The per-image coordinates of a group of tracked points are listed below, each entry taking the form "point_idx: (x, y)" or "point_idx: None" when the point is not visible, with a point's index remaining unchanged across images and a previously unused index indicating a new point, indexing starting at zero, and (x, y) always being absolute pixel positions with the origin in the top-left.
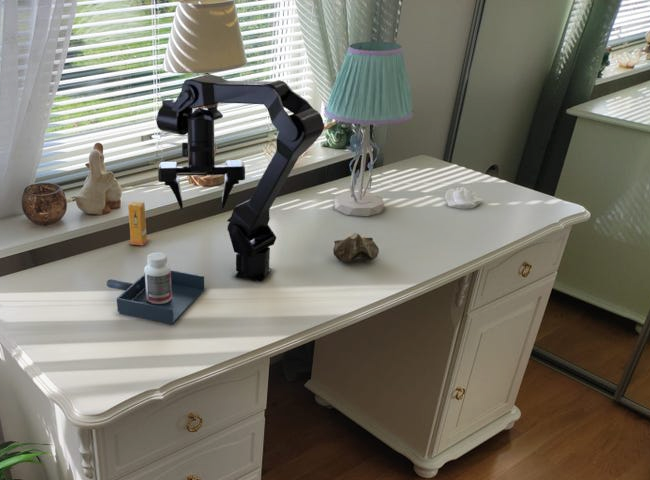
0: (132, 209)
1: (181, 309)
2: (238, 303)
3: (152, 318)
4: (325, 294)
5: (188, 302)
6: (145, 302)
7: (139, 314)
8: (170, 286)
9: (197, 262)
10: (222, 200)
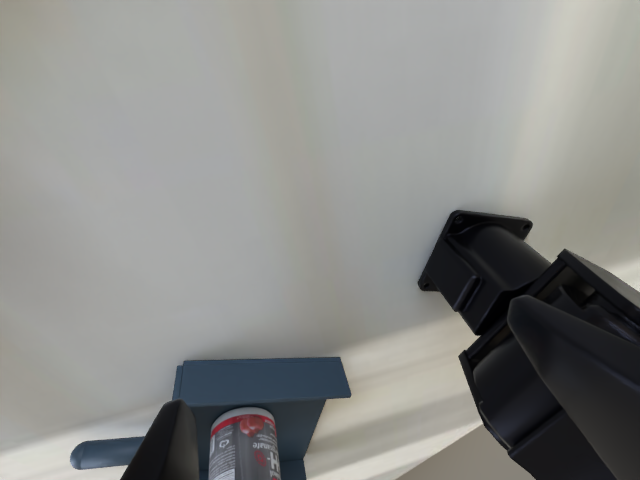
0: None
1: (307, 431)
2: (421, 373)
3: None
4: None
5: (315, 411)
6: None
7: None
8: (278, 457)
9: (278, 220)
10: (564, 407)
